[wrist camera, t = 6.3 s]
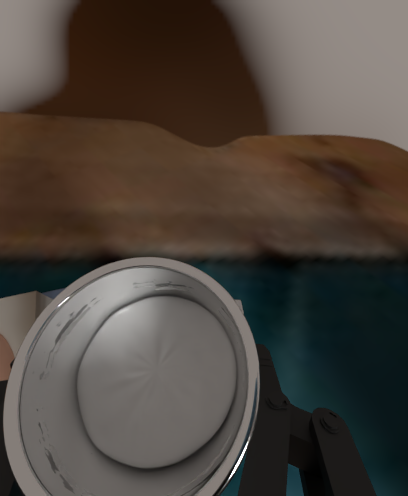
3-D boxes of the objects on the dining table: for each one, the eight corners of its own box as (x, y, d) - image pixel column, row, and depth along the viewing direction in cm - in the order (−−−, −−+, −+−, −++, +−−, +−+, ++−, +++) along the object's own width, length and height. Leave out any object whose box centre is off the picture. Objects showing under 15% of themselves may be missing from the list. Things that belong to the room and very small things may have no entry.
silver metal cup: (125, 339, 21) (1, 281, 7) (204, 316, 22) (221, 229, 8) (139, 436, 18) (-27, 640, 4) (229, 404, 19) (318, 486, 5)
